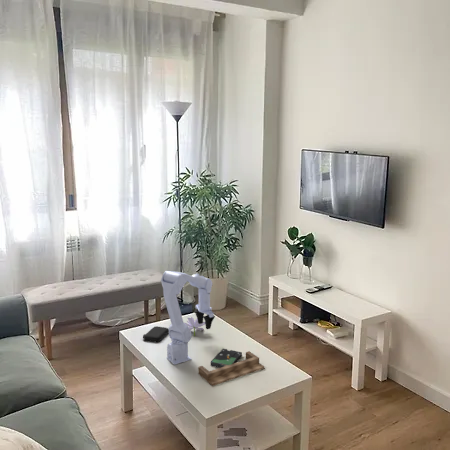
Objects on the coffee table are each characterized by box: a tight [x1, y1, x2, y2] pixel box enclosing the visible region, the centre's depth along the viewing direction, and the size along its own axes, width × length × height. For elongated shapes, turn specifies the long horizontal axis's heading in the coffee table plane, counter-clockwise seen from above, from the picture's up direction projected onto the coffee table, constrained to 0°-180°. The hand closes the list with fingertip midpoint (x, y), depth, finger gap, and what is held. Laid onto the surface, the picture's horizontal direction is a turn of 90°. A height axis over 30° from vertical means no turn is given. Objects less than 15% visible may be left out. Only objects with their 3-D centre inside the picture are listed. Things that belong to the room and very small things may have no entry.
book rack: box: [197, 350, 265, 387], centre depth 211 cm, size 28×12×4 cm, turn 123°
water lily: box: [184, 316, 206, 337], centre depth 249 cm, size 15×15×9 cm
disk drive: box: [210, 348, 243, 369], centre depth 221 cm, size 10×3×15 cm
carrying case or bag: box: [142, 325, 169, 343], centre depth 247 cm, size 11×3×15 cm
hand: (204, 326), depth 237 cm, fingers open, 7 cm apart
